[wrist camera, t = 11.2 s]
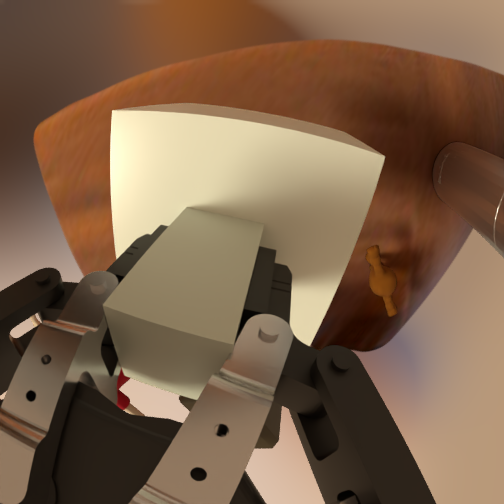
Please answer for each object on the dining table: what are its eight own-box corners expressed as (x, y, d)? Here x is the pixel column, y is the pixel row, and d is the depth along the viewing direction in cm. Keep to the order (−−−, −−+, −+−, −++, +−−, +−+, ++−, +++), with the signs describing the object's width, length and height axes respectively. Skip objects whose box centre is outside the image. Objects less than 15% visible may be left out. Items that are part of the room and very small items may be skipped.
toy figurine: (394, 285, 38) (407, 315, 32) (373, 294, 39) (383, 325, 34) (373, 220, 33) (388, 245, 28) (349, 231, 35) (359, 258, 29)
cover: (344, 131, 16) (479, 231, 3) (305, 265, 22) (301, 454, 9) (187, 103, 16) (-10, 143, 4) (176, 236, 22) (72, 385, 9)
